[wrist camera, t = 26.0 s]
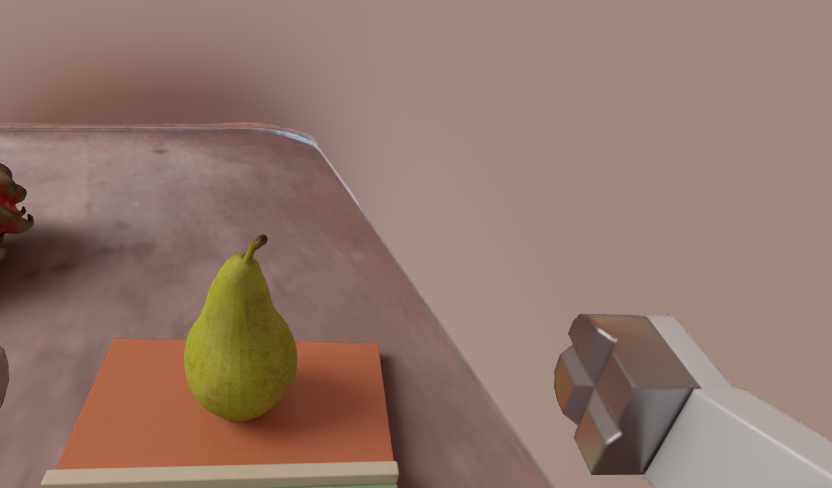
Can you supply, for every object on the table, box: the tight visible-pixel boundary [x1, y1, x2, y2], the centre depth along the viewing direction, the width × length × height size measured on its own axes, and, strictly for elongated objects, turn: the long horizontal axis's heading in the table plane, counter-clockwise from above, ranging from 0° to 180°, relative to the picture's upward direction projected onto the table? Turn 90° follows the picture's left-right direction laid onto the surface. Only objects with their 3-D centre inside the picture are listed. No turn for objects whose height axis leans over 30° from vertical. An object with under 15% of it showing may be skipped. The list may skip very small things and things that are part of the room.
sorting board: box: [41, 338, 399, 488], centre depth 27 cm, size 16×20×2 cm
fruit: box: [184, 235, 297, 421], centre depth 28 cm, size 6×6×12 cm
